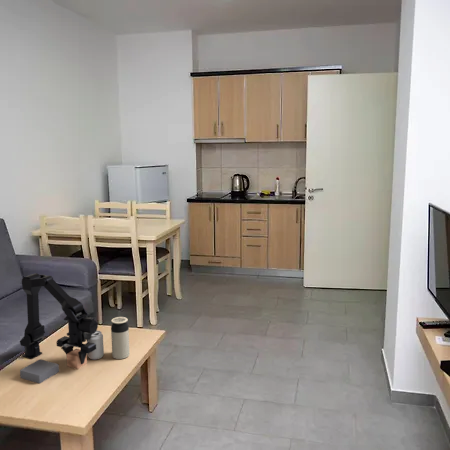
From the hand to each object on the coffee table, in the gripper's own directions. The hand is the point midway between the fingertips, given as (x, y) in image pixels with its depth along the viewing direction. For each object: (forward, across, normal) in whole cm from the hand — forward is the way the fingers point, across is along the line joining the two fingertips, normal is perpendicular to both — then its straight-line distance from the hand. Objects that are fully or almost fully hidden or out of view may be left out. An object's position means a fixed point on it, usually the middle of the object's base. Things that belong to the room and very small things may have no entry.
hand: (77, 362), depth 208 cm
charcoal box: (+2, +8, +14) cm, 16 cm away
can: (+2, -2, -10) cm, 10 cm away
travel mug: (+1, -12, -16) cm, 20 cm away
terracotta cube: (+1, 0, 0) cm, 1 cm away
